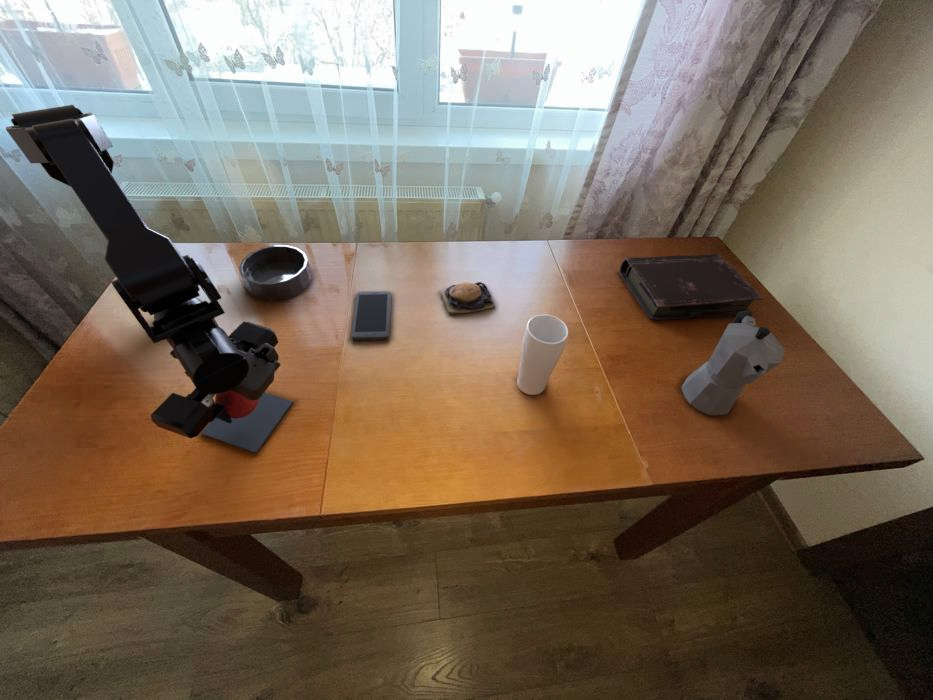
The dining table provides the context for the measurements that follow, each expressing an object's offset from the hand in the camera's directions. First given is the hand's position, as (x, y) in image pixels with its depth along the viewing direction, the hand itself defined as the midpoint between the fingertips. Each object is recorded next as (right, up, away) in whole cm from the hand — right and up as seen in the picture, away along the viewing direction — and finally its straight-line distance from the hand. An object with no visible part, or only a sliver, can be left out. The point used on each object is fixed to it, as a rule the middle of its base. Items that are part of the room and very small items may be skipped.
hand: (241, 406), depth 64 cm
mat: (0, -2, +2) cm, 3 cm away
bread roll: (+36, +20, +25) cm, 48 cm away
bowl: (-6, +25, +25) cm, 36 cm away
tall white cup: (+48, +2, +11) cm, 49 cm away
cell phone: (+16, +16, +20) cm, 30 cm away
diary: (+87, +22, +31) cm, 95 cm away
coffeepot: (+81, +1, +12) cm, 82 cm away
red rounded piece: (0, -1, +1) cm, 2 cm away
